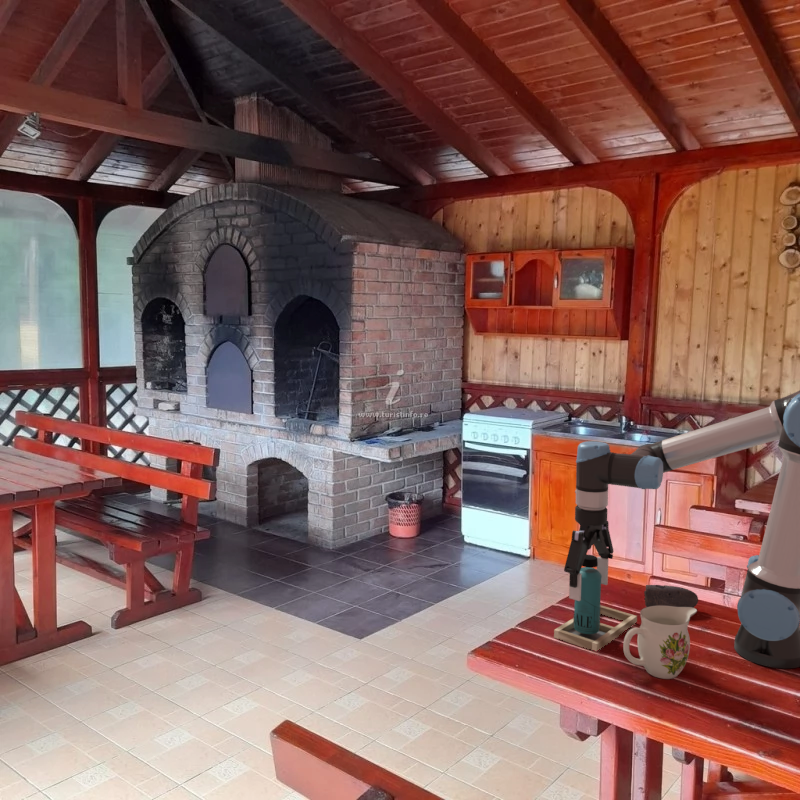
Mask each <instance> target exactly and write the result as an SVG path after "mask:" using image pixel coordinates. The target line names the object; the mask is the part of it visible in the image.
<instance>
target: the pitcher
mask: <svg viewBox="0 0 800 800" xmlns="http://www.w3.org/2000/svg"><path fill="white" fill-rule="evenodd" d="M697 612H698V610H697V608H695V607H694V608H692V607H673V606H650V607H646V606H645V607H644V608H642V609H640V611H639V613H640V619H641V624H640V626H639V627H633V628H632V627H631V628H630V629H628V630H627V631H626V634H625V636H624V638H623V648H622V649H623V650H622V651H623V653H624V656H625V658H626V659H627V660H628V661H629V663H631V664H633V665H635V666H639V667H641V666H643V667H644V669H645V670H646V673H648V674H649V675H650V676H653V677H655V678H658V679H663V680H670V679H675V678H677V677H678V675H680V674H681V672H683V669H684V668H685V667H686V664H687V663H688V662H687V661H688V659H689V654H690V649H691V639H690V634H689V631H688V627H689V623H690V620H691V617H693V616H694V615H695V614H696V613H697ZM635 635H637V642H636V643H637V651H638V656H639V658H636V657H634V656H633V655H632V654H631V651H630V643H631V640H632V638H633V637H634V636H635Z"/></svg>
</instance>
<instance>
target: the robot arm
mask: <svg viewBox="0 0 800 800" xmlns="http://www.w3.org/2000/svg"><path fill="white" fill-rule="evenodd" d="M778 440H779V441H778ZM774 441H778V444H777V448H778V449H779V451H780V452H781V453H782V456H783V457H782V462H781V466H780V470H779V474H778V476H777V477H778V478H777V481H776V486H775V490H774V494H773V498H772V502H771V507H770V510H769V515H768V518H767V522H766V527H765V531H764V535H763V539H762V543H761V547H760V551H759V553H758V554H759V555H758V554H755V555H752V556H750V557H749V558H748V560H747V561H748V562H747V565H746V568H747V571H746V575H745V578H744V582H743V583H744V584H743V587H742V590H741V591H742V592H741V595H740V598H739V600H738V602H737V604H736V610H737V616H738V620H739V622H740V623H741V624H740V626H739V628H738V631H737V633H736V635H735V637H734V643H733V645H734V650H735V652H736V653H737V654H738V655H739V656H740V657H742V658H744V659H745V660H748V661H749V662H752V663H755V664H757V665H761V666H765V667H769V668H773V669H774V668H775V669H795V668H796V669H797V668H800V389H799V390H798V391H795V392H794V393H791V394H788V395H786V396H783V397H781V398H778V399H777V398H776V400H773V401H771V403H770V405H769V406H767V407H764V408H761V409H758V410H755V411H752V412H749V413H748V412H747V413H745V414H742V415H739V416H736V417H733V418H729V419H726V420H723V421H720V422H716V423H713V424H711V425H708V426H707V425H706V426H704V427H701V428H698V429H697V428H696V429H695V430H694V429H693V430H691V431H688V432H684V433H682V434H679V435H675V436H672V437H668V438H666V439H663V440H661V441H660V440H659V441H656V442H653V443H645V444H643V445H641V446H638V448H637V449H636V450H634V451H633V452H631V453H630V454H628V453H617V452H611V449H610V445H609V444H608V443H606V442H602V441H591V440H590V441H583V442H580V443H579V444H578V445H577V452H576V453H577V454H576V460H575V463H576V465H575V467H576V468H575V469H576V470H575V471H576V477H575V490H574V493H575V504H576V506H575V507H574V509H575V510H574V520H575V522H576V523H578V524H579V530H575V529H573V530H572V532H571V541H570V545H569V548H568V552H567V557H566V560H565V565H564V568H563V571H564V573H568V574H569V581H568V582H569V585H568V587H569V588H568V589H569V590H568V599H570V600H573V601H575V600H577V601H580V600H581V575H582V574H581V573H580V570H581V568H583V566H582V565H583V562H584V559H585V557H586V555H588V551H589V550H591V548H592V546H594V548H595V550H596V552H597V555H598V556H596V557H597V562H598V566H597V567H596V569H597V570H598V571H599V572H600V573H601V575H602V578H601V585H605V586H607V585H608V584H609V583H608V581H609V580H608V579H609V559H610V560H611V559H613V557H614V554H613V553H614V548H613V541H612V538H611V534H610V529H609V521H608V508H607V507H608V506H609V485H611V486H613V485H614V486H618V487H619V486H621V487H627V488H638V489H641V490H658V489H659V488H660V487H661V486H662V481H663V476H664V473H667V472H671V471H673V470H677V469H680V468H683V467H687V466H691V465H693V464H694V465H695V464H698V463H701V462H704V461H707V460H712V459H715V458H718V457H722V456H725V455H729V454H732V453H735V452H736V453H737V452H740V451H743V450H745V449H746V450H747V449H750V448H753V447H756V446H760V445H764V444H767V443H771V442H774Z"/></svg>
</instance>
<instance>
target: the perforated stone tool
mask: <svg viewBox="0 0 800 800" xmlns="http://www.w3.org/2000/svg"><path fill="white" fill-rule="evenodd" d="M643 594H644V602H645V603H644V605H645V608H646V607H650V606H673V607H692V608H695V607H696V606H697V605H698V604H699V597H698V595H697V593H695V592H694V591H692V590H691V589H689V588H685V587H681V586H676V585H675V586H674V585H666V584H664V585H663V584H662V585H661V584H646V585H645V590H644V593H643Z"/></svg>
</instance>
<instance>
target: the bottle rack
mask: <svg viewBox="0 0 800 800" xmlns="http://www.w3.org/2000/svg"><path fill="white" fill-rule="evenodd" d="M600 613H601V614H602V615H601V616H604V615H605V617H607V616H608V618H610V617H612V618H611V619H614V618H615V619H614V620H617V619H618V621H620V620H623V621H620V623H618V624H617V625H615V626H612V625H608V624H606V623H602V622H600V629H599V632H597V633H595V634H584V633H580V632H578V631H576V630H575V629H574V626H573V625H574V624H573V623H574V622H573V618H571V619H570V620H567V621H566V622H565V623H563V624H562V625H560V626H558V627H556V628H555V629H553V633H554V634H553V638H554V639H557V640H559V639H560V641H562V640H563V642H564V643H565V642H566V643H569V644H571V645H574V646H578V647H580V648H583V647H584V648H583V649H586V648H587V649H586V650H589V649H591V650H590V651H592V650H595V651H597V650H599V649H600V650H602V649H603V648H605V647H604V646H605V645H606V646H607V645H609V644H611V641H612V640H613V641H614V640H616V639H617V638H618V637H620V636H621V635H623V634H624V633H625V632H626V631H625V630H627V629H628V628H630V627H631V626H632V625H634V624H635V623H636V622H637V623H638V615H634V614H632V613H628V612H625V611H621V610H620V609H619V610H618V609H615V608H611V607H608V606H605V605H601V604H600ZM635 625H636V624H635ZM635 625H634V626H635ZM632 627H633V626H632ZM632 627H631V628H632ZM631 628H630V629H631ZM628 630H629V629H628ZM628 630H627V631H628ZM624 631H625V632H624ZM623 632H624V633H623ZM622 633H623V634H622ZM620 634H621V635H620ZM619 635H620V636H619ZM615 638H616V639H615ZM613 641H612V642H613ZM608 643H609V644H608ZM602 647H603V648H602ZM601 648H602V649H601ZM600 650H599V651H600Z"/></svg>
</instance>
